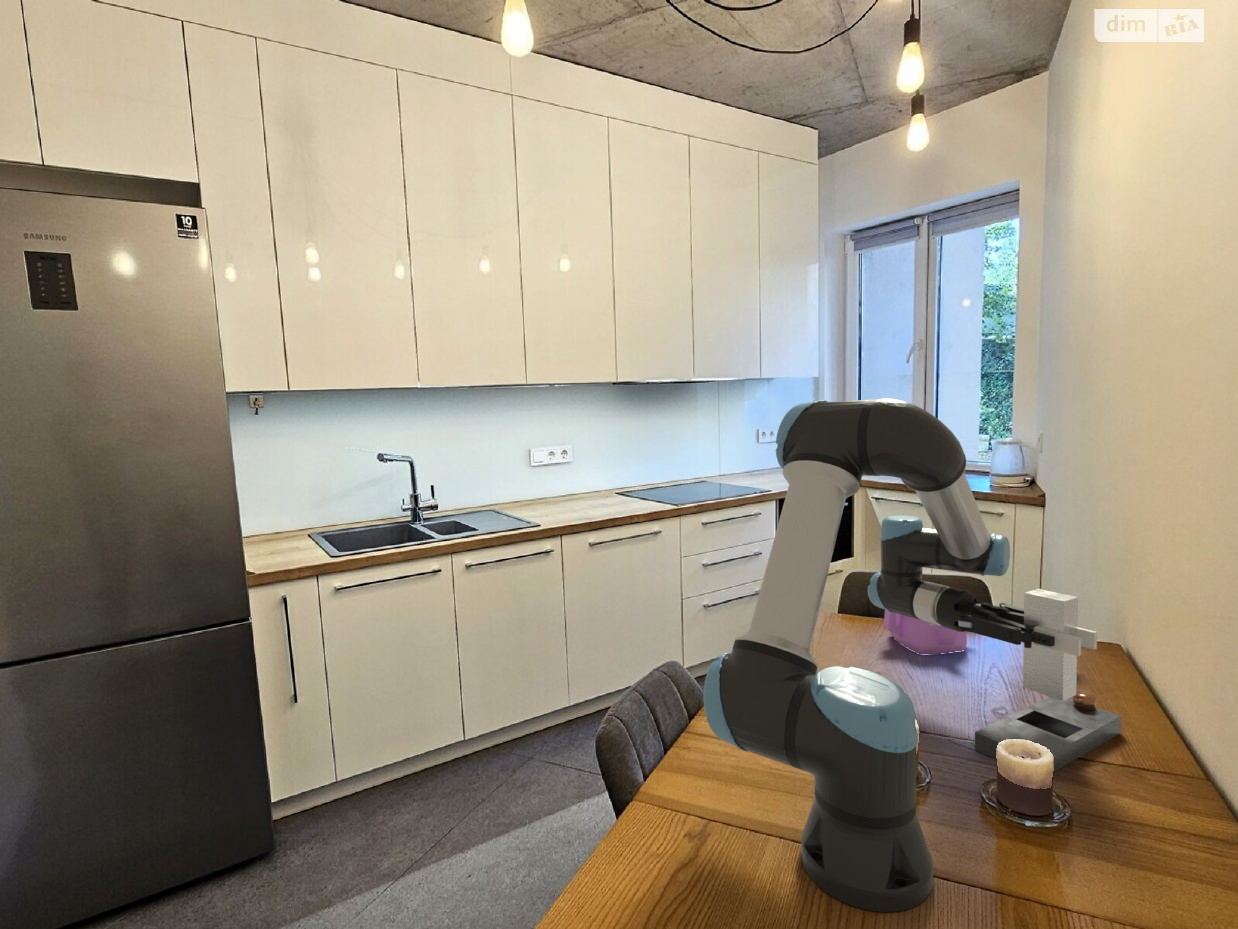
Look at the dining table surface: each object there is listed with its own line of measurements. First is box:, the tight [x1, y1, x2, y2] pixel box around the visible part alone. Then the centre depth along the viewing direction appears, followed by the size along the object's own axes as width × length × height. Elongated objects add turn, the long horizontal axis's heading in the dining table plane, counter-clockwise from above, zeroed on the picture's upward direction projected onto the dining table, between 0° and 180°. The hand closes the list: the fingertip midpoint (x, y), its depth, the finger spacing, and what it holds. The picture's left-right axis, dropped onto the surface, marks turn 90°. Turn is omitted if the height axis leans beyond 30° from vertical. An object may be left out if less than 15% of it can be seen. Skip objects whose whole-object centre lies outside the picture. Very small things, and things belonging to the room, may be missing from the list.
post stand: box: [974, 690, 1122, 772], centre depth 105 cm, size 25×10×5 cm, turn 119°
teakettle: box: [883, 609, 968, 654], centre depth 148 cm, size 17×17×12 cm
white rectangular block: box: [1022, 588, 1079, 701], centre depth 104 cm, size 4×6×16 cm, turn 29°
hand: (1087, 643), depth 99 cm, fingers closed on white rectangular block, 4 cm apart
